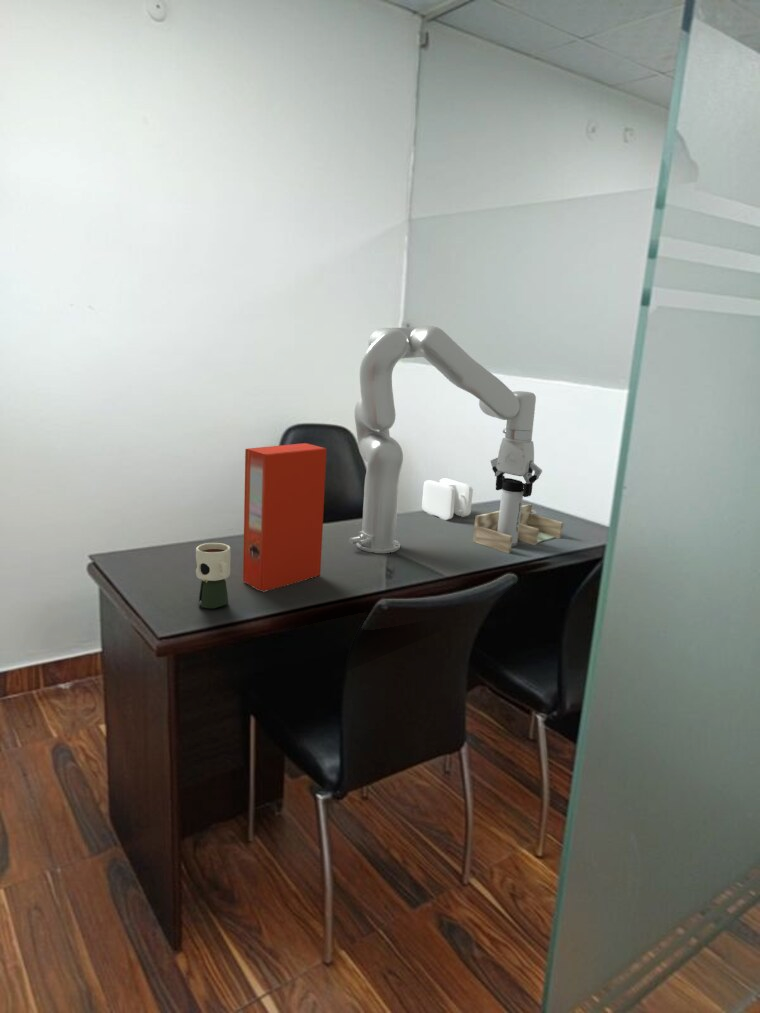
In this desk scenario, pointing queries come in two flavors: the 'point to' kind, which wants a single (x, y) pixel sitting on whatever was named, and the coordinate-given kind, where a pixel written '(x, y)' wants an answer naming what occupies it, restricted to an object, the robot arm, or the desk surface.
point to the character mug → (213, 573)
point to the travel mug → (510, 508)
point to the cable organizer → (447, 498)
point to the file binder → (283, 514)
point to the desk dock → (529, 529)
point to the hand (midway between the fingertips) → (513, 492)
